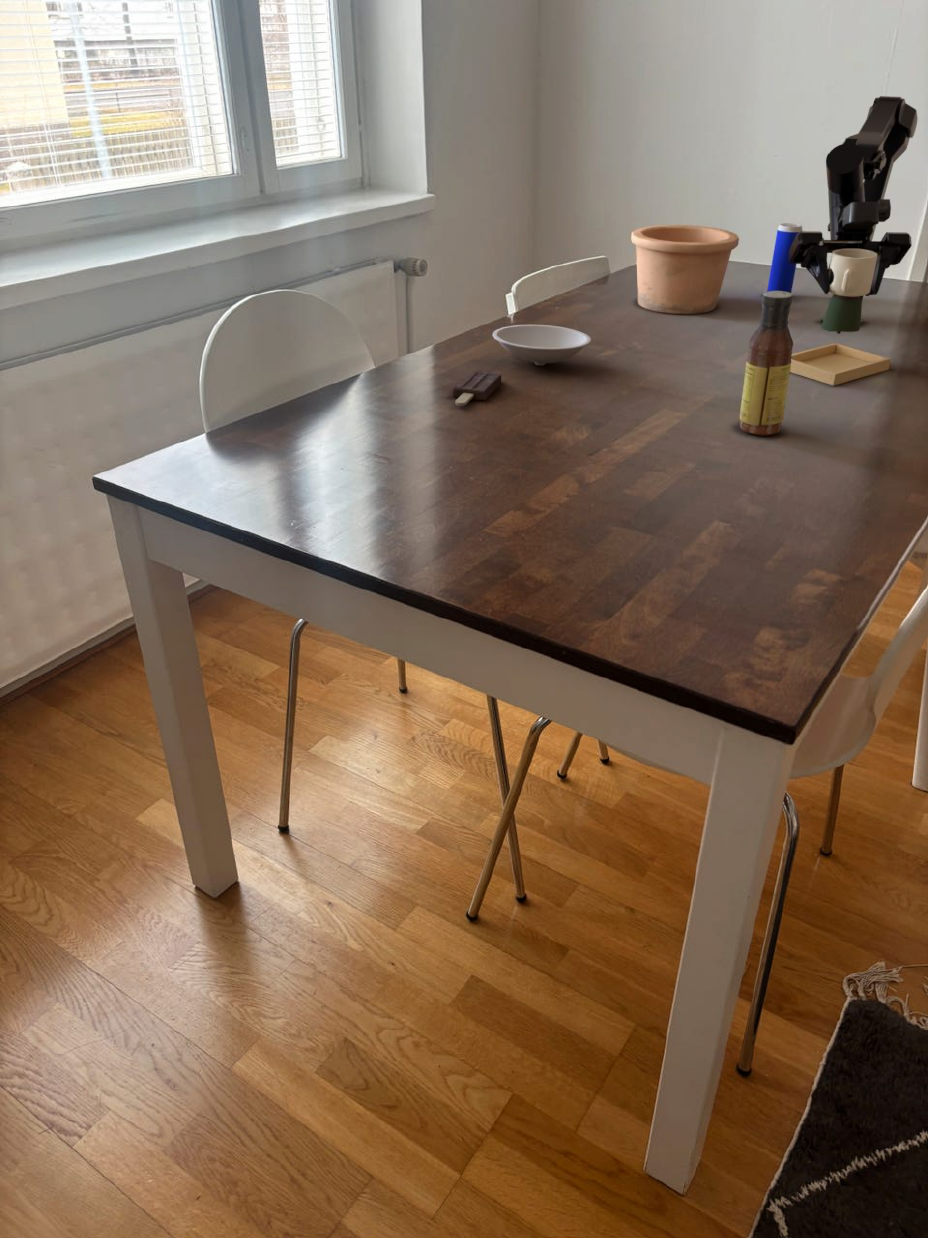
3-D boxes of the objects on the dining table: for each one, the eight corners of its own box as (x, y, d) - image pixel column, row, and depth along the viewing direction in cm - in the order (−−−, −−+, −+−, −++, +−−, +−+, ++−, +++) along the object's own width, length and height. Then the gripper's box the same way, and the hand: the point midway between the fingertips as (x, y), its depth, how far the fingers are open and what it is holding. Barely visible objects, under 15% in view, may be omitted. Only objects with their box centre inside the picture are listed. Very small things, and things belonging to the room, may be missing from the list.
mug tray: (777, 368, 168) (779, 356, 167) (833, 353, 176) (835, 342, 175) (833, 385, 160) (835, 374, 159) (888, 369, 168) (891, 358, 167)
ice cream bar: (474, 411, 149) (502, 382, 161) (474, 400, 148) (502, 372, 160) (443, 407, 151) (473, 378, 163) (443, 397, 150) (473, 369, 162)
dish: (478, 368, 167) (478, 340, 165) (510, 347, 178) (510, 320, 176) (573, 382, 161) (575, 353, 158) (600, 359, 172) (602, 331, 170)
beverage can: (787, 294, 214) (800, 223, 206) (792, 300, 210) (805, 227, 202) (764, 293, 214) (776, 222, 206) (768, 299, 210) (780, 226, 202)
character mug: (823, 320, 171) (837, 244, 163) (866, 324, 168) (881, 247, 161) (812, 338, 163) (826, 258, 155) (856, 342, 160) (873, 262, 153)
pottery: (652, 287, 219) (659, 220, 211) (744, 302, 208) (755, 232, 200) (607, 306, 204) (613, 235, 196) (703, 323, 193) (713, 248, 185)
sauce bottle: (781, 425, 145) (807, 290, 134) (779, 439, 140) (805, 300, 129) (737, 420, 146) (759, 286, 136) (733, 434, 141) (755, 296, 131)
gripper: (806, 179, 156) (810, 264, 153) (922, 180, 155) (929, 266, 152) (786, 221, 167) (789, 302, 164) (895, 222, 166) (900, 303, 163)
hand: (851, 292), depth 160 cm, fingers closed on character mug, 8 cm apart
